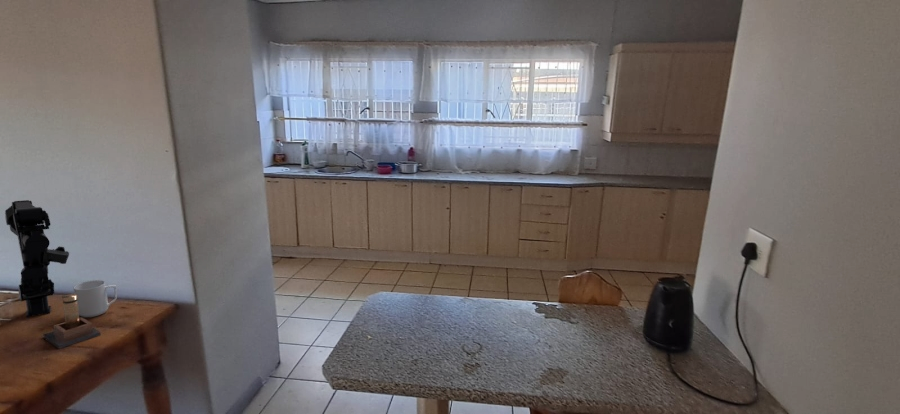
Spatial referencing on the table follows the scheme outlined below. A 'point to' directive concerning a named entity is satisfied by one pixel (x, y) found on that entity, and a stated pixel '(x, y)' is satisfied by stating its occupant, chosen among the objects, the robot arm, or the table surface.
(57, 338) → the frame
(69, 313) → the gold metallic cylinder
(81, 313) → the mug
